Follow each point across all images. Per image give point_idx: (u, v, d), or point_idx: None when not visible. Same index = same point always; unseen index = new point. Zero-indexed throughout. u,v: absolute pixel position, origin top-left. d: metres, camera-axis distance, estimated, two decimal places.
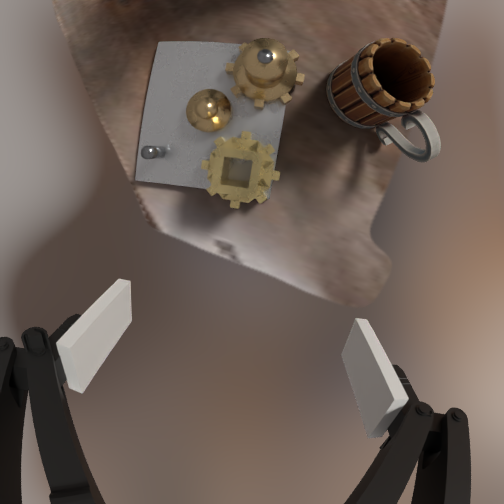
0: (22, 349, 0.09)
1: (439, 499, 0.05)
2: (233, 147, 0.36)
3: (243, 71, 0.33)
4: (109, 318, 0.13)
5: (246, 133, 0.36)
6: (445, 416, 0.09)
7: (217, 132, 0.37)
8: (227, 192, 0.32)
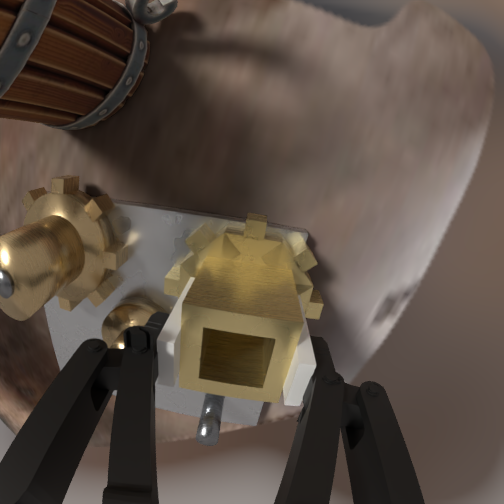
0: (113, 349, 0.11)
1: (381, 482, 0.06)
2: None
3: None
4: None
5: (168, 286, 0.18)
6: (359, 392, 0.10)
7: None
8: (282, 376, 0.13)
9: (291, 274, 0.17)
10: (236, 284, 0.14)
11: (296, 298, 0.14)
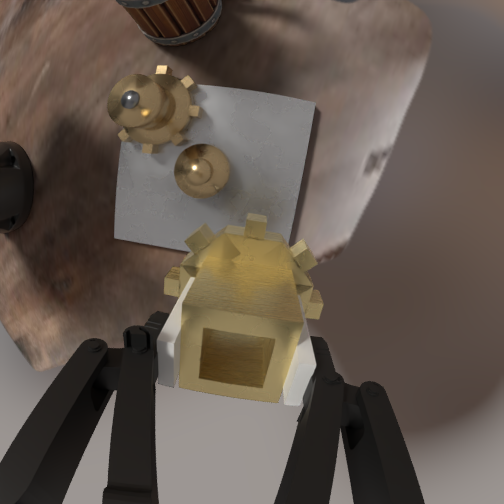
0: (113, 349, 0.11)
1: (381, 482, 0.06)
2: None
3: (153, 132, 0.29)
4: None
5: (168, 286, 0.18)
6: (359, 392, 0.10)
7: (230, 161, 0.32)
8: (282, 376, 0.13)
9: (291, 274, 0.17)
10: (236, 284, 0.14)
11: (296, 298, 0.14)
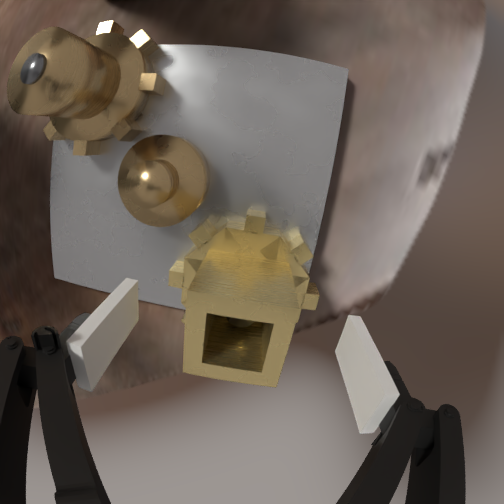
0: (31, 348, 0.09)
1: (434, 497, 0.05)
2: None
3: (88, 121, 0.16)
4: (118, 317, 0.13)
5: (172, 278, 0.19)
6: (437, 413, 0.09)
7: (210, 162, 0.19)
8: (280, 361, 0.14)
9: (288, 266, 0.18)
10: (237, 274, 0.16)
11: (293, 287, 0.15)
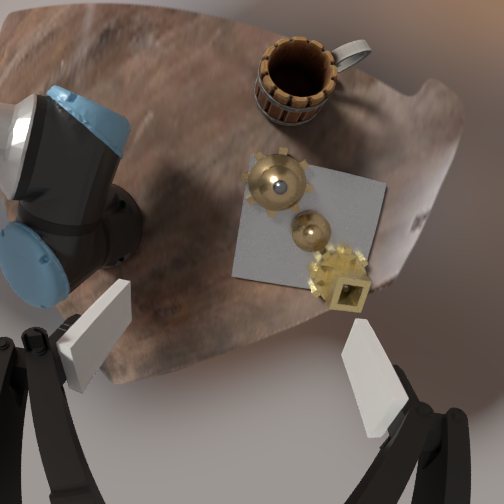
0: (22, 349, 0.09)
1: (439, 499, 0.05)
2: (322, 283, 0.46)
3: None
4: (109, 318, 0.13)
5: (312, 273, 0.45)
6: (445, 416, 0.09)
7: (329, 224, 0.45)
8: (363, 301, 0.40)
9: (360, 268, 0.44)
10: (347, 271, 0.42)
11: (366, 275, 0.41)
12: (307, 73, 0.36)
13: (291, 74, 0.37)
